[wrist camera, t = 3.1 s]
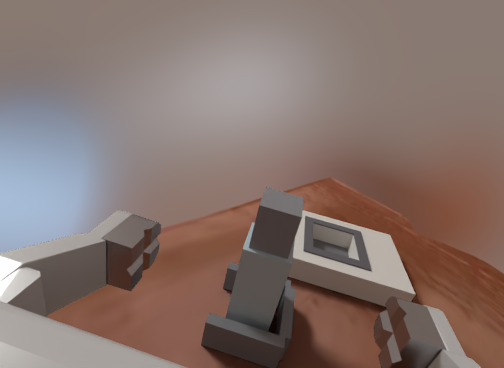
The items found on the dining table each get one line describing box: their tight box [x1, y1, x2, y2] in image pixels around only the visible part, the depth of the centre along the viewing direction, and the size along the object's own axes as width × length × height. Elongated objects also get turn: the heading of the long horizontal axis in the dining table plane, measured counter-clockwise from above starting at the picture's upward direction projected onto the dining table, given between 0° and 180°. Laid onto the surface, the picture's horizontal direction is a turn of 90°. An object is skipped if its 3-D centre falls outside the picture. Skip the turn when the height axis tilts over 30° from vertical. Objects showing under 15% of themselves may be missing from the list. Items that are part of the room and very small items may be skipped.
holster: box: [201, 262, 295, 368], centre depth 27 cm, size 7×8×3 cm
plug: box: [226, 187, 303, 332], centre depth 25 cm, size 4×4×14 cm
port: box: [288, 210, 416, 307], centre depth 39 cm, size 18×12×3 cm, turn 79°
